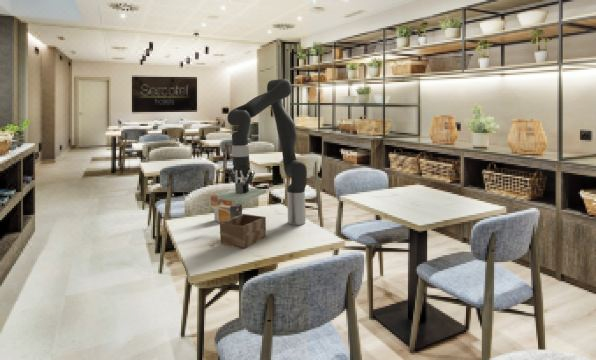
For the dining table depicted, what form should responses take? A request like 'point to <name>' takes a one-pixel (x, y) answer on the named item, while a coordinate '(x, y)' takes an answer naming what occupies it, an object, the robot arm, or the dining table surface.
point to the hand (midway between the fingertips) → (242, 192)
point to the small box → (222, 211)
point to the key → (216, 204)
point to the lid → (241, 193)
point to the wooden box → (242, 229)
